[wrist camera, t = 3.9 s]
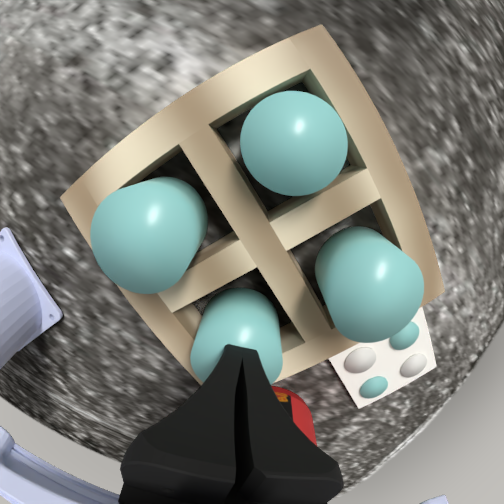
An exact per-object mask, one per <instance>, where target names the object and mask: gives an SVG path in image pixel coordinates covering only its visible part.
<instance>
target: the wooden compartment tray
mask: <svg viewBox="0 0 504 504" xmlns="http://www.w3.org/2000/svg"><path fill="white" fill-rule="evenodd" d="M300 82H303V83H304V85H305V86H306V88H307V90H308V91H309V93H310V94H312V95H315V96H317V97H319V98H321V99H322V100H324V101H325V102H327V103H328V104H329V105H330V106H331V107H332V108H333V109H334V110H335V111H336V112H337V114H338V115H339V117H340V118H341V120H342V122H343V124H344V127H345V130H346V134H347V141H348V149H347V156H346V157H347V159H348V161H349V163H350V166H348V167H346V168H344V169H343V170H341V171H340V173H339V174H338V175H337V177H336V178H335V179H334V180H333V181H332V182H331V183H330V184H329V185H327V186H326V187H324V188H323V189H321V190H319V191H317V192H315V193H311V194H308V195H303V196H294V197H292V198H290V199H289V200H287V201H285V202H283V203H282V204H280V205H278V206H276V207H274V208H273V209H271V210H269V211H267V209H266V208H265V206H264V204H263V203H262V201H261V199H260V198H259V196H258V194H257V193H256V191H255V189H254V188H253V186H252V185H251V183H250V181H249V180H248V178H247V176H246V175H245V173H244V172H243V170H242V168H241V167H240V165H239V163H238V162H237V160H236V159H235V157H234V155H233V154H232V152H231V151H230V149H229V148H228V146H227V144H226V143H225V141H224V140H223V138H222V136H221V135H220V133H219V132H218V130H217V128H218V127H220V126H222V125H223V124H225V123H227V122H228V121H230V120H232V119H233V118H235V117H237V116H238V115H240V114H242V113H244V112H245V111H247V110H249V109H251V108H252V107H254V106H256V105H257V104H258V103H259V102H260V101H262V100H263V99H265V98H266V97H268V96H271V95H273V94H276V93H279V92H282V91H284V90H286V89H288V88H290V87H292V86H294V85H296V84H298V83H300ZM181 151H184V153H185V154H186V156H187V157H188V159H189V161H190V162H191V164H192V165H193V167H194V168H195V170H196V172H197V173H198V175H199V176H200V178H201V179H202V181H203V183H204V184H205V186H206V187H207V189H208V190H209V192H210V194H211V195H212V197H213V198H214V200H215V202H216V203H217V205H218V206H219V208H220V209H221V211H222V213H223V214H224V216H225V217H226V219H227V220H228V222H229V224H230V225H231V227H232V228H233V230H234V231H233V232H231V233H230V234H228V235H226V236H224V237H223V238H221V239H219V240H218V241H216V242H214V243H213V244H211V245H209V246H207V247H206V248H204V249H202V250H201V251H199V252H197V253H196V254H195V255H194V257H193V259H192V261H191V262H190V264H189V266H188V267H187V269H186V271H185V273H184V274H183V276H182V277H181V278H180V280H179V281H178V282H177V283H175V284H174V285H173V286H172V287H170V288H168V289H166V290H164V291H162V292H159V293H154V294H139V293H135V292H131V291H128V290H126V289H124V288H122V287H120V286H119V285H117V284H116V285H117V286H118V288H119V289H120V290H121V292H122V293H123V294H124V296H125V297H126V298H127V300H128V301H129V302H130V304H131V305H132V306H133V307H134V309H135V310H136V311H137V313H138V314H139V315H140V316H141V318H142V319H143V320H144V321H145V323H146V324H147V325H148V326H149V327H150V329H151V330H152V331H153V332H154V333H155V335H156V336H157V337H158V338H159V339H160V341H161V342H162V343H163V344H164V345H165V346H166V348H167V349H168V350H169V351H170V352H171V353H172V354H173V356H174V357H175V358H176V359H177V360H178V361H179V362H180V363H181V364H182V366H183V367H184V368H185V369H186V370H187V371H188V372H189V373H190V374H191V375H192V376H193V377H194V378H195V380H196V381H197V382H198V383H199V384H200V385H202V384H203V382H202V381H201V380H200V379H199V378H198V377H197V375H196V374H195V372H194V371H193V368H192V365H191V360H190V356H191V351H192V347H193V344H194V341H195V338H196V335H197V331H198V328H199V325H200V322H201V319H202V315H201V314H200V313H199V311H198V310H197V309H196V307H195V306H194V305H193V304H192V302H193V301H195V300H197V299H199V298H201V297H203V296H205V295H206V294H208V293H210V292H212V291H214V290H216V289H218V288H219V287H221V286H223V285H225V284H227V283H229V282H231V281H232V280H234V279H236V278H238V277H240V276H242V275H243V274H245V273H247V272H249V271H251V270H253V269H254V268H256V267H258V269H259V271H260V272H261V274H262V275H263V277H264V278H265V280H266V281H267V283H268V285H269V286H270V288H271V289H272V291H273V292H274V294H275V296H276V297H277V299H278V300H279V302H280V303H281V305H282V306H283V308H284V310H285V311H286V313H287V314H288V316H289V317H290V319H291V321H292V322H291V323H289V324H287V325H285V326H283V327H281V328H280V338H281V348H282V358H283V366H282V370H281V373H280V375H279V377H278V378H277V379H276V381H275V382H277V381H279V380H282V379H284V378H286V377H289V376H291V375H293V374H296V373H298V372H300V371H303V370H305V369H307V368H309V367H311V366H314V365H316V364H318V363H320V362H322V361H324V360H326V359H329V358H331V357H333V356H335V355H337V354H339V353H341V352H343V351H345V350H347V349H349V348H351V347H353V346H355V345H356V344H358V343H360V342H355V341H352V340H350V339H348V338H346V337H345V336H343V335H342V334H341V333H340V332H339V331H338V330H337V328H336V327H335V325H334V322H333V320H332V318H331V315H330V313H329V310H328V308H327V305H324V306H322V304H321V303H320V301H319V299H318V297H317V295H316V294H315V292H314V290H313V288H312V287H311V285H310V283H309V281H308V280H307V278H306V276H305V274H304V273H303V271H302V269H301V267H300V266H299V264H298V262H297V260H296V259H295V257H294V255H293V253H292V252H291V250H290V249H291V248H293V247H295V246H296V245H298V244H300V243H302V242H304V241H305V240H307V239H309V238H311V237H313V236H314V235H316V234H318V233H320V232H322V231H323V230H325V229H327V228H329V227H330V226H332V225H334V224H336V223H338V222H339V221H341V220H343V219H345V218H346V217H348V216H350V215H352V214H354V213H355V212H357V211H359V210H361V209H362V208H364V207H366V206H368V205H369V204H370V206H371V208H372V211H373V213H374V215H375V217H376V220H377V222H378V224H379V227H380V229H381V231H382V234H383V236H384V237H385V238H386V239H387V240H389V241H390V242H391V243H392V244H394V245H395V246H396V247H398V248H399V249H400V250H401V251H403V252H404V253H405V254H406V255H408V256H409V257H410V258H411V259H412V260H414V261H415V263H416V264H417V265H418V267H419V268H420V270H421V273H422V275H423V280H424V294H423V299H422V302H421V305H420V307H419V308H421V307H422V306H424V305H425V304H427V303H428V302H430V301H432V300H433V299H435V298H436V297H438V296H439V295H441V294H442V293H444V292H445V290H444V285H443V281H442V277H441V273H440V269H439V265H438V262H437V258H436V255H435V251H434V248H433V244H432V241H431V238H430V235H429V231H428V228H427V225H426V222H425V219H424V216H423V214H422V211H421V208H420V205H419V202H418V200H417V197H416V194H415V192H414V189H413V187H412V184H411V182H410V179H409V177H408V174H407V172H406V170H405V167H404V165H403V163H402V160H401V158H400V156H399V154H398V152H397V149H396V147H395V145H394V143H393V141H392V139H391V137H390V135H389V133H388V131H387V129H386V127H385V125H384V123H383V121H382V119H381V117H380V115H379V113H378V111H377V109H376V108H375V106H374V104H373V102H372V100H371V99H370V97H369V95H368V93H367V92H366V90H365V88H364V86H363V85H362V83H361V81H360V80H359V78H358V76H357V75H356V73H355V72H354V70H353V68H352V67H351V65H350V64H349V62H348V61H347V59H346V58H345V56H344V55H343V53H342V52H341V50H340V49H339V47H338V46H337V44H336V43H335V42H334V40H333V39H332V37H331V36H330V35H329V33H328V32H327V30H326V29H325V28H324V26H323V25H322V24H321V25H319V26H316V27H313V28H311V29H308V30H306V31H303V32H301V33H299V34H296V35H294V36H292V37H289V38H287V39H285V40H283V41H280V42H278V43H276V44H274V45H272V46H270V47H267V48H265V49H263V50H261V51H259V52H257V53H255V54H253V55H251V56H249V57H248V58H246V59H244V60H242V61H240V62H238V63H236V64H234V65H233V66H231V67H229V68H227V69H225V70H224V71H222V72H220V73H218V74H217V75H215V76H213V77H212V78H210V79H208V80H207V81H205V82H203V83H202V84H200V85H199V86H197V87H195V88H194V89H192V90H191V91H189V92H188V93H186V94H185V95H183V96H182V97H180V98H179V99H177V100H176V101H174V102H173V103H171V104H170V105H168V106H167V107H165V108H164V109H163V110H161V111H160V112H158V113H157V114H156V115H154V116H153V117H152V118H150V119H149V120H147V121H146V122H145V123H143V124H142V125H141V126H140V127H138V128H137V129H136V130H134V131H133V132H132V133H131V134H129V135H128V136H127V137H126V138H124V139H123V140H122V141H121V142H119V143H118V144H117V145H116V146H115V147H113V148H112V149H111V150H110V151H109V152H108V153H106V154H105V155H104V156H103V157H102V158H101V159H100V160H99V161H97V162H96V163H95V164H94V165H93V166H92V167H91V168H90V169H89V170H88V171H86V172H85V173H84V174H83V175H82V176H81V177H80V178H79V179H78V180H77V181H76V182H75V183H74V184H73V185H72V186H71V187H70V188H69V189H68V190H67V191H66V192H65V193H64V194H63V195H62V196H61V197H60V198H61V200H62V202H63V203H64V205H65V207H66V209H67V210H68V212H69V214H70V215H71V217H72V219H73V220H74V222H75V224H76V225H77V227H78V228H79V230H80V232H81V233H82V235H83V236H84V238H85V240H86V241H87V243H88V244H89V246H90V247H91V249H92V246H91V239H90V230H91V223H92V219H93V216H94V214H95V211H96V210H97V208H98V206H99V205H100V203H101V202H102V201H103V200H104V199H105V198H106V197H107V196H108V195H110V194H111V193H113V192H115V191H117V190H119V189H122V188H125V187H128V186H131V185H134V184H137V183H138V182H140V181H141V180H142V179H144V178H145V177H146V176H148V175H149V174H150V173H152V172H153V171H154V170H156V169H157V168H159V167H160V166H161V165H163V164H164V163H166V162H167V161H168V160H170V159H171V158H173V157H174V156H176V155H177V154H178V153H180V152H181Z"/></svg>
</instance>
